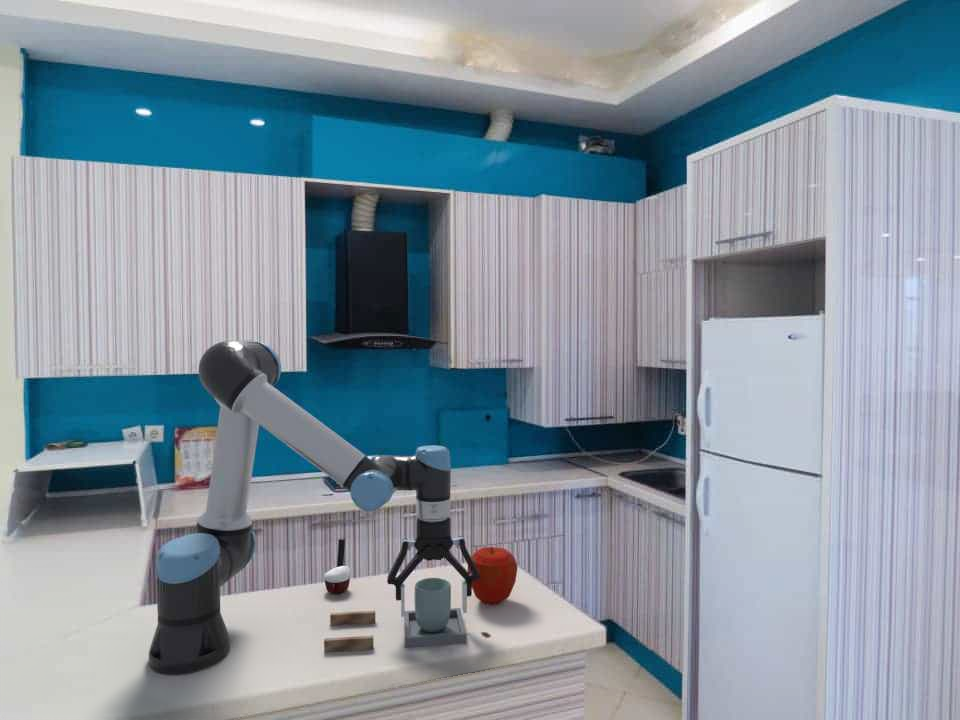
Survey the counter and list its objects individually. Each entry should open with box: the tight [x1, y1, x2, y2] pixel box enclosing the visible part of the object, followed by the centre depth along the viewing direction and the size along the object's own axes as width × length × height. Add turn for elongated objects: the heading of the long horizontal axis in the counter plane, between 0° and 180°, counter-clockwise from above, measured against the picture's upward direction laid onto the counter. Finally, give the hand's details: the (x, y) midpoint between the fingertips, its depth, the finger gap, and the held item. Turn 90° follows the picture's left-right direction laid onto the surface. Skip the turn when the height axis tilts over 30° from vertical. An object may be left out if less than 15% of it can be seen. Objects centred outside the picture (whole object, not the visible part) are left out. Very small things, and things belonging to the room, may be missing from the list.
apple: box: [467, 545, 518, 606], centre depth 154 cm, size 12×12×14 cm
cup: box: [413, 577, 452, 633], centre depth 139 cm, size 8×8×10 cm
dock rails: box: [323, 610, 376, 654], centre depth 137 cm, size 10×13×2 cm
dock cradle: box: [403, 607, 467, 648], centre depth 140 cm, size 13×13×2 cm
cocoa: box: [323, 538, 351, 596], centre depth 161 cm, size 10×6×12 cm, turn 156°
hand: (433, 612), depth 139 cm, fingers open, 13 cm apart
